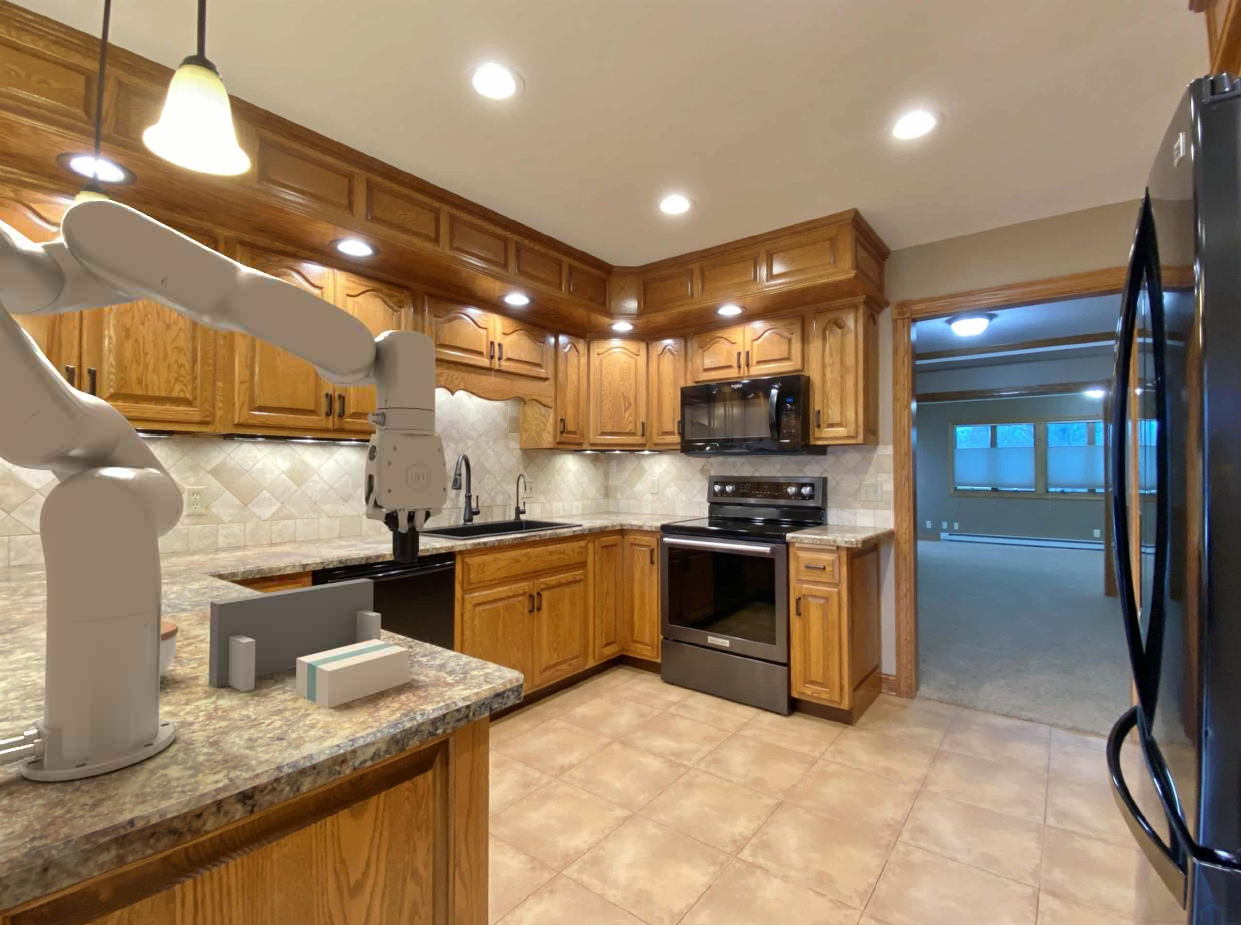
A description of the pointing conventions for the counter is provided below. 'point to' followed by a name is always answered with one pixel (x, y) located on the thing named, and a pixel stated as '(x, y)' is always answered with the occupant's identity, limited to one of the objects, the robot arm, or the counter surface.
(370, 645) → the carton
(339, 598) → the display stand
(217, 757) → the counter surface
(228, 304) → the robot arm
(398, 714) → the counter surface
